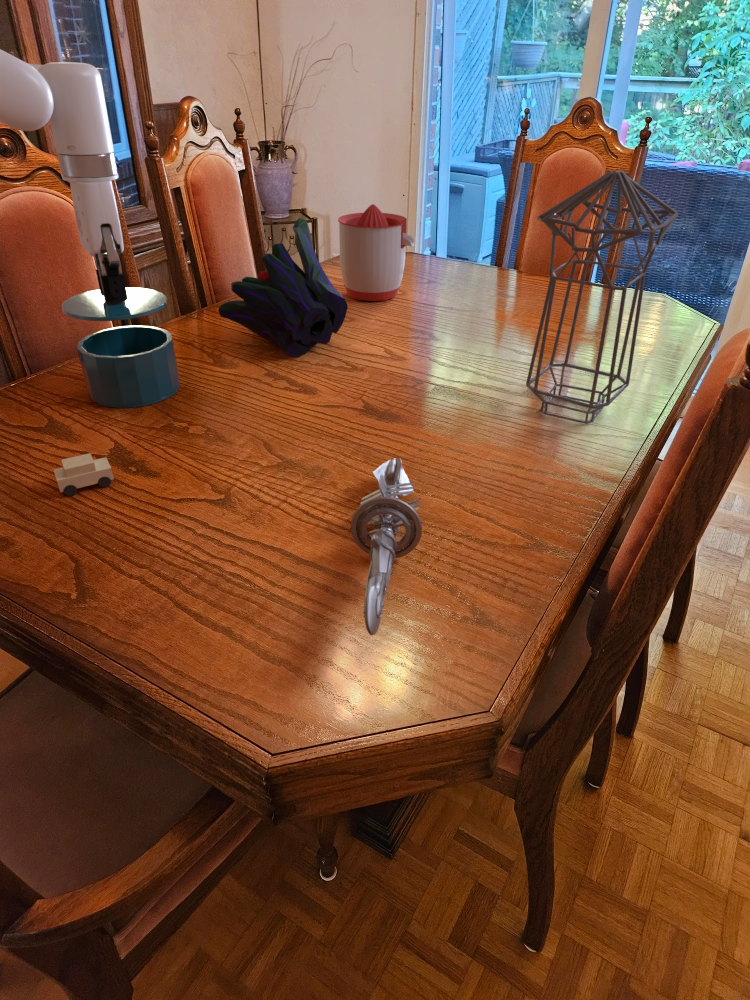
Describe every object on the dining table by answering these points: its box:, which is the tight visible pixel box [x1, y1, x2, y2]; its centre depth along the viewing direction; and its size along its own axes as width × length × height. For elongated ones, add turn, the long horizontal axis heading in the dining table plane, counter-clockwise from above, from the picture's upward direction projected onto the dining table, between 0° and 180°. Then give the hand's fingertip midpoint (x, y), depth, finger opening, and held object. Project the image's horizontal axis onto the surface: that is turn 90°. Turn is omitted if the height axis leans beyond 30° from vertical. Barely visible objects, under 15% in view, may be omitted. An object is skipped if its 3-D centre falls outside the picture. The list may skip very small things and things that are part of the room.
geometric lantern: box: [525, 169, 679, 425], centre depth 97 cm, size 16×16×35 cm
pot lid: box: [61, 265, 168, 322], centre depth 103 cm, size 16×16×7 cm
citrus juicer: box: [337, 203, 416, 302], centre depth 152 cm, size 16×17×20 cm
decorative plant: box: [218, 217, 349, 358], centre depth 130 cm, size 21×26×30 cm
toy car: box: [53, 452, 115, 497], centre depth 86 cm, size 7×3×4 cm, turn 119°
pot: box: [76, 325, 181, 409], centre depth 110 cm, size 15×15×8 cm
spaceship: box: [350, 457, 423, 636], centre depth 73 cm, size 8×35×8 cm
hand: (114, 296), depth 104 cm, fingers closed on pot lid, 3 cm apart
